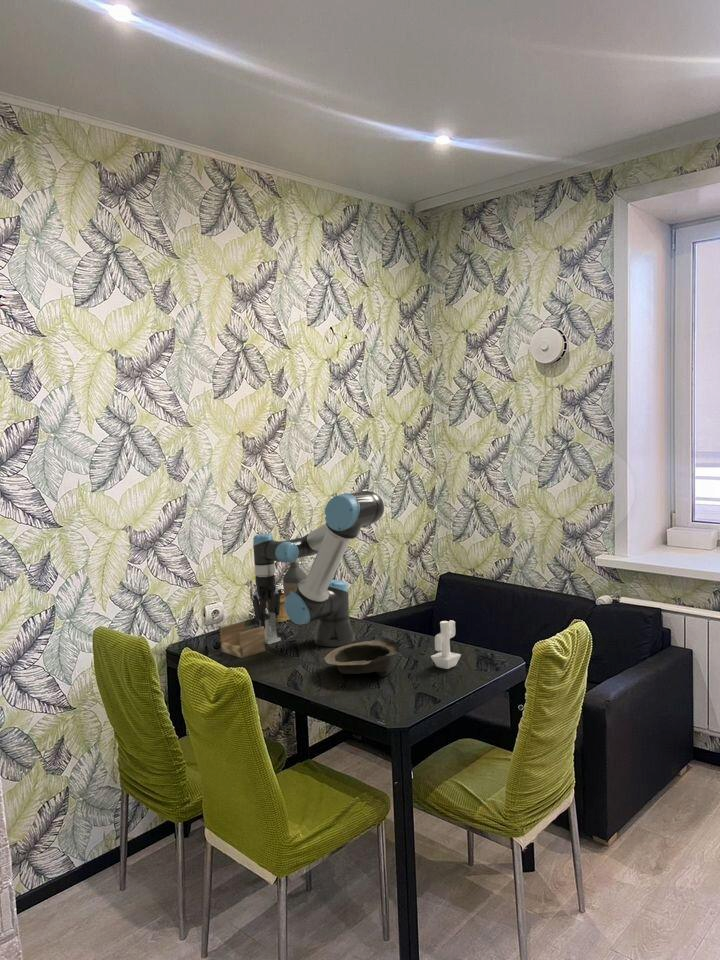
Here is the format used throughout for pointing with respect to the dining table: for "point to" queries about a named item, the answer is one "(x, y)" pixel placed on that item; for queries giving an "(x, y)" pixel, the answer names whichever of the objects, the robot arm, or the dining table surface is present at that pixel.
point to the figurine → (445, 646)
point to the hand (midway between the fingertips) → (268, 635)
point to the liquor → (293, 578)
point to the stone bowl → (365, 657)
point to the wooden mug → (281, 610)
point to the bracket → (271, 628)
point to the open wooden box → (242, 640)
